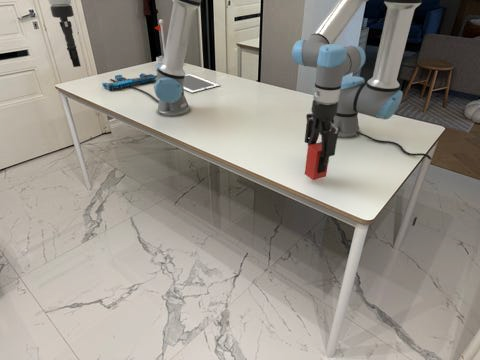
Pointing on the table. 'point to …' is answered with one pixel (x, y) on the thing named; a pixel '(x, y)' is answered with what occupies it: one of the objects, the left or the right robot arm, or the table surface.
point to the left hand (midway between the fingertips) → (75, 62)
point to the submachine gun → (128, 81)
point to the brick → (314, 161)
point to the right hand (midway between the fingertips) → (316, 167)
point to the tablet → (197, 83)
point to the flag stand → (160, 28)
